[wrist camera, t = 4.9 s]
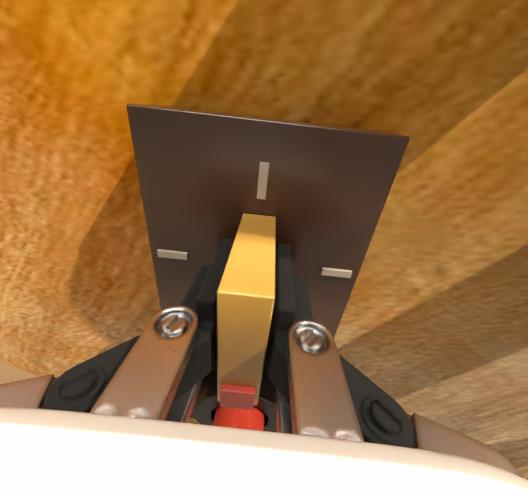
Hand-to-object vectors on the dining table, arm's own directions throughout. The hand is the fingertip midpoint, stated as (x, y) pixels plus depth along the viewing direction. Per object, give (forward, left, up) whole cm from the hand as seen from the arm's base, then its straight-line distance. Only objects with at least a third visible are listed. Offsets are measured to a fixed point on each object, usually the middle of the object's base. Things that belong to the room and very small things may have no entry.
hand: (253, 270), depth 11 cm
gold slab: (0, 0, -1) cm, 1 cm away
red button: (+13, 0, 0) cm, 13 cm away
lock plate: (0, 0, -4) cm, 4 cm away
